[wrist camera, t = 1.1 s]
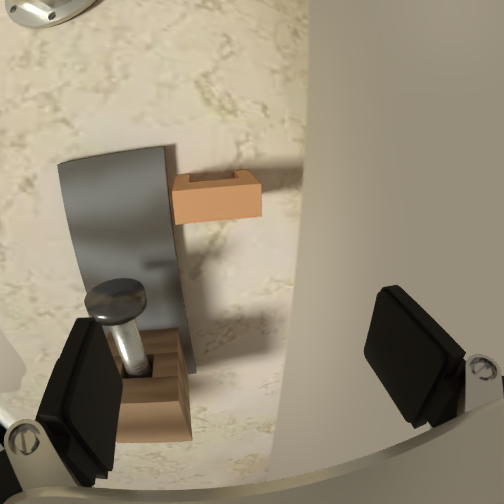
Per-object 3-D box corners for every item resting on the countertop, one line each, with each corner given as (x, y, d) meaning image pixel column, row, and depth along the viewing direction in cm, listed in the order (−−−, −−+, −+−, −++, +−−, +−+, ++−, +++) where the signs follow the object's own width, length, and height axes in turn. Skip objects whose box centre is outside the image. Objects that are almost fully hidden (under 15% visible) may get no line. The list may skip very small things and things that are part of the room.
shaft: (93, 280, 25) (77, 315, 20) (147, 275, 26) (140, 310, 21) (135, 394, 32) (131, 430, 27) (177, 392, 32) (178, 428, 28)
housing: (61, 162, 24) (-2, 194, 14) (164, 146, 25) (146, 166, 15) (120, 372, 35) (110, 444, 25) (196, 367, 36) (203, 442, 26)
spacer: (175, 175, 26) (171, 191, 21) (247, 169, 27) (261, 183, 22) (178, 202, 28) (175, 224, 22) (247, 196, 28) (261, 216, 23)
